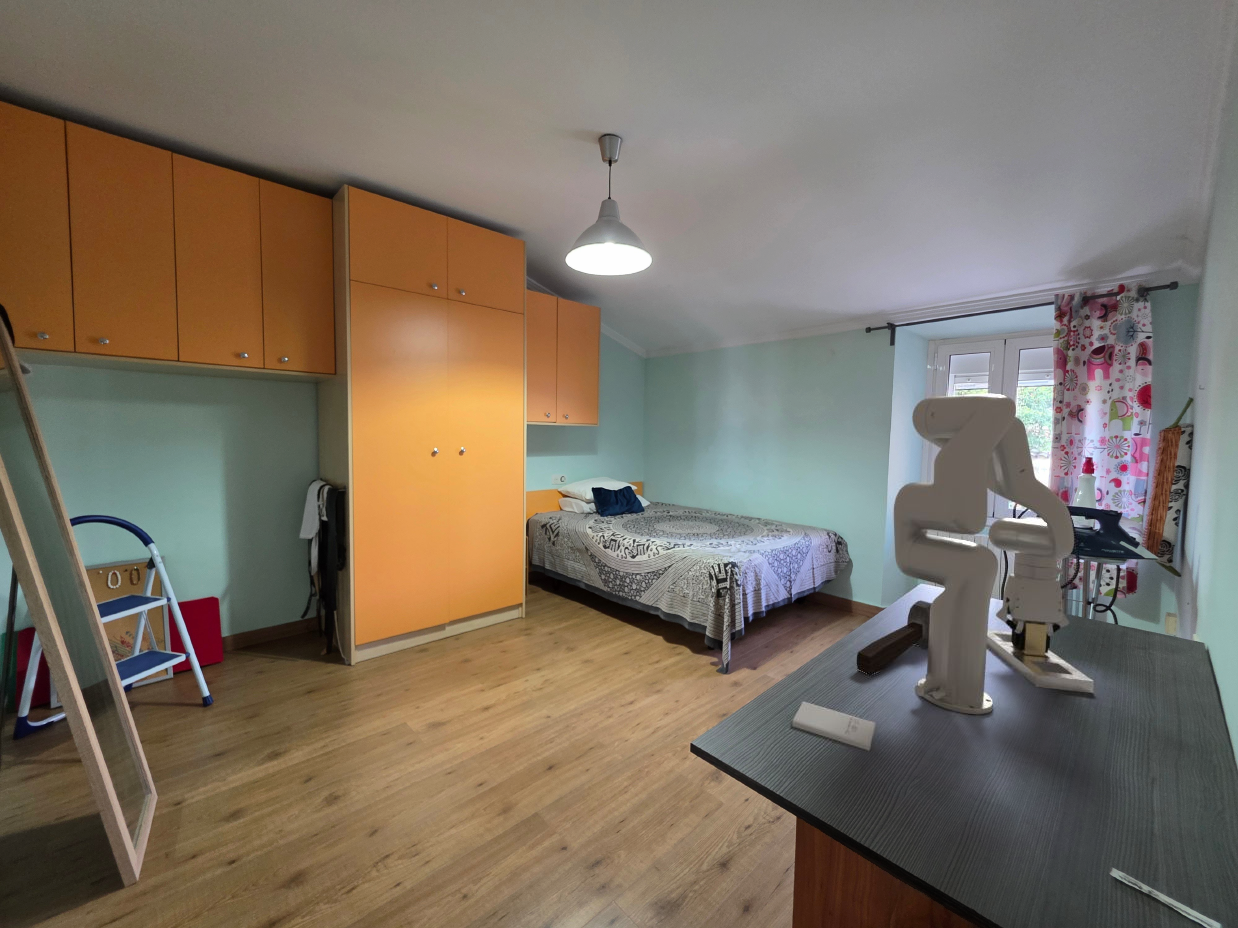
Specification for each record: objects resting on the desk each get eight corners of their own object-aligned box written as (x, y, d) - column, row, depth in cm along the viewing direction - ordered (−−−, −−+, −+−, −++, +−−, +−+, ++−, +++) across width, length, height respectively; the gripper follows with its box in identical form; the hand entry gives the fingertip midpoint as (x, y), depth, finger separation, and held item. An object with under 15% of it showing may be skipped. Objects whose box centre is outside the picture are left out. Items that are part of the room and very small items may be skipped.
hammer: (874, 694, 108) (939, 645, 125) (873, 645, 107) (939, 602, 123) (853, 684, 112) (919, 638, 129) (851, 637, 111) (918, 597, 127)
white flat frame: (1093, 692, 103) (1094, 681, 103) (1036, 686, 105) (1037, 674, 105) (1023, 642, 128) (1023, 632, 128) (978, 638, 131) (979, 628, 130)
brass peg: (1044, 663, 114) (1047, 625, 114) (1024, 661, 115) (1026, 623, 115) (1034, 656, 118) (1036, 618, 118) (1014, 654, 119) (1017, 617, 119)
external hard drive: (803, 708, 97) (875, 729, 90) (792, 729, 90) (869, 753, 83) (803, 700, 96) (875, 721, 90) (792, 720, 90) (869, 744, 83)
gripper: (1067, 570, 117) (1062, 646, 118) (985, 564, 121) (981, 639, 122) (1089, 579, 110) (1083, 660, 111) (1001, 573, 114) (996, 652, 115)
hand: (1029, 648), depth 117 cm, fingers open, 4 cm apart
